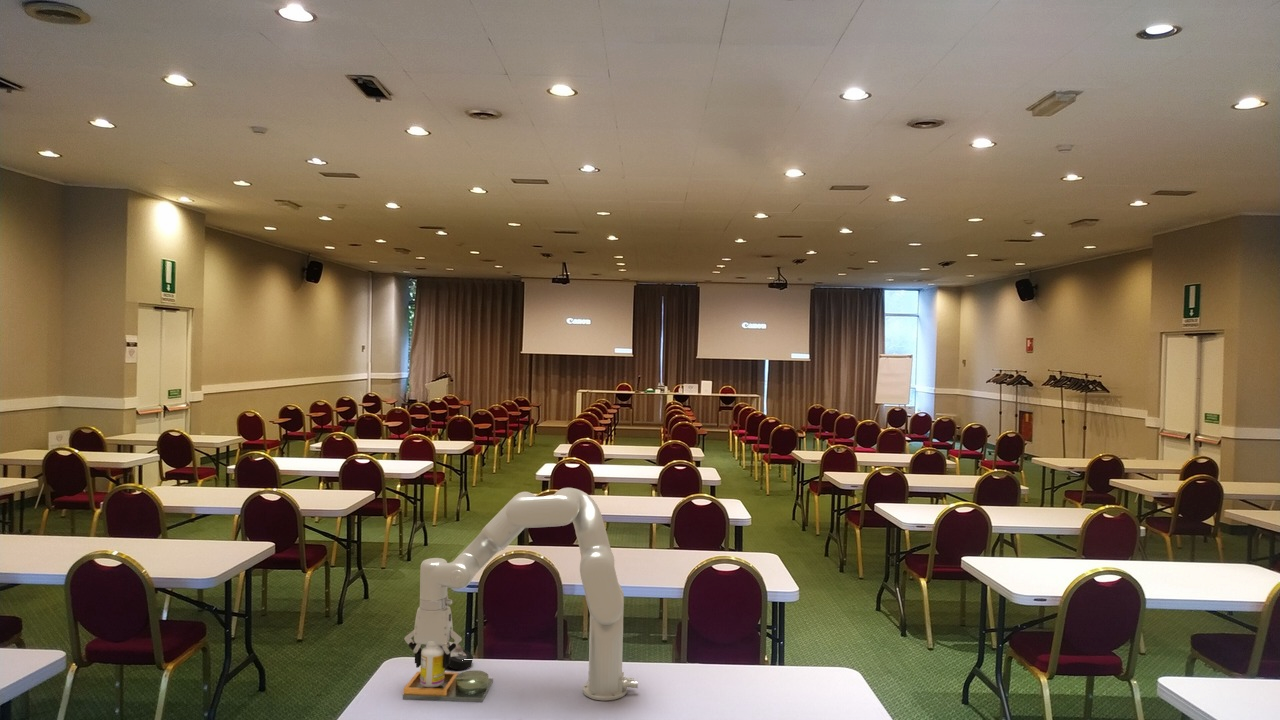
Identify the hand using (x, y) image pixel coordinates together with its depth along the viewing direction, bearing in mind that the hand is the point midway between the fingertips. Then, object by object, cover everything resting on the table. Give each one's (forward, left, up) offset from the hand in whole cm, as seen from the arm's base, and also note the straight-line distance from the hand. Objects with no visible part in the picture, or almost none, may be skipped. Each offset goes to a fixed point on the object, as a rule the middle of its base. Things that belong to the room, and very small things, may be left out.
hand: (432, 665), depth 218 cm
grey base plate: (-5, 0, -7) cm, 8 cm away
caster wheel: (-1, -18, -7) cm, 20 cm away
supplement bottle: (0, 0, -5) cm, 5 cm away
